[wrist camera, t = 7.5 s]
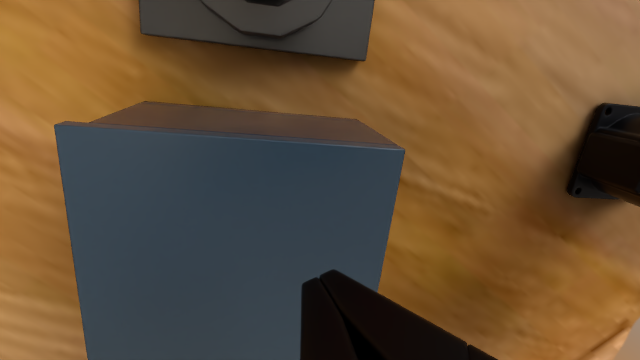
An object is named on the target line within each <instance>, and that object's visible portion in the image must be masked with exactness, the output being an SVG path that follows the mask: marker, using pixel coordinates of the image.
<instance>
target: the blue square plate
mask: <svg viewBox="0 0 640 360" xmlns="http://www.w3.org/2000/svg"><path fill="white" fill-rule="evenodd" d="M54 129H55V135H56V142H57V149H58V156H59V163H60V170H61V177H62V184H63V191H64V198H65V205H66V212H67V219H68V226H69V233H70V240H71V247H72V254H73V261H74V268H75V275H76V282H77V289H78V296H79V302H80V309H81V316H82V323H83V330H84V337H85V344H86V351H87V358H88V360H300V336H301V286H302V284H303V283H304V282H306V281H308V280H310V279H312V278H314V277H318V278H319V276H320V275H321V274H323V273H325V272H328V271H330V270H332V269H336V270H338V271H340V272H341V273H343V274H345V275H347V276H348V277H350V278H352V279H354V280H356V281H357V282H359V283H361V284H363V285H365V286H366V287H368V288H370V289H372V290H374V291H375V292H377V291H378V286H379V281H380V276H381V271H382V266H383V261H384V256H385V251H386V246H387V241H388V235H389V230H390V225H391V220H392V215H393V210H394V205H395V200H396V195H397V190H398V185H399V180H400V174H401V169H402V164H403V159H404V154H405V149H403V148H402V147H400V146H398V145H385V144H371V143H357V142H344V141H330V140H316V139H303V138H289V137H275V136H262V135H248V134H234V133H221V132H207V131H193V130H180V129H166V128H152V127H139V126H125V125H111V124H98V123H84V122H70V121H64V122H61V123H58V124H55V125H54Z"/></svg>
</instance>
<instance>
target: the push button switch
mask: <svg viewBox="0 0 640 360" xmlns="http://www.w3.org/2000/svg"><path fill="white" fill-rule="evenodd" d="M373 7H374V0H139V12H140V30H141V34H144V35H150V36H158V37H166V38H175V39H183V40H191V41H200V42H208V43H216V44H224V45H233V46H241V47H249V48H257V49H266V50H274V51H282V52H290V53H299V54H307V55H315V56H323V57H332V58H340V59H348V60H356V61H365V60H366V55H367V48H368V42H369V35H370V28H371V21H372V14H373Z"/></svg>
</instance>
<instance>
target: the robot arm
mask: <svg viewBox="0 0 640 360" xmlns="http://www.w3.org/2000/svg"><path fill="white" fill-rule="evenodd" d="M605 111H606V112H605ZM567 193H568V194H569V195H571V196H573V197H578V198H600V199H621V200H624V201H626V202H629V203H631V204H634V205H636V206H639V207H640V107H637V106H628V105H619V104H610V103H603V104H601V105H599V107H598V108H597V110H596V112H595V115H594V118H593V120H592V123H591V126H590V129H589V131H588V134H587V137H586V139H585V142H584V145H583V148H582V150H581V153H580V156H579V158H578V161H577V164H576V167H575V169H574V172H573V175H572V177H571V180H570V183H569V185H568V188H567ZM300 360H498V359H496V358H494V357H492V356H490V355H488V354H487V353H485V352H483V351H481V350H480V349H478V348H476V347H474V346H472V345H468V346H467V343H466V342H465V341H463V340H461V339H460V338H458V337H456V336H454V335H452V334H451V333H449V332H447V331H445V330H443V329H442V328H440V327H438V326H436V325H435V324H433V323H431V322H429V321H427V320H426V319H424V318H422V317H420V316H418V315H417V314H415V313H413V312H411V311H409V310H408V309H406V308H404V307H402V306H400V305H399V304H397V303H395V302H393V301H392V300H390V299H388V298H386V297H384V296H383V295H381V294H379V293H377V292H375V291H374V290H372V289H370V288H368V287H366V286H365V285H363V284H361V283H359V282H357V281H356V280H354V279H352V278H350V277H348V276H347V275H345V274H343V273H341V272H340V271H338V270H336V269H332V270H330V271H328V272H325V273H323V274H321V275H320V276H319V278H318V277H314V278H312V279H310V280H308V281H306V282H304V283H303V284H302V286H301V336H300Z"/></svg>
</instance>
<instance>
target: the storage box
mask: <svg viewBox="0 0 640 360" xmlns="http://www.w3.org/2000/svg"><path fill="white" fill-rule="evenodd" d="M89 123H98V124H111V125H125V126H139V127H152V128H166V129H180V130H193V131H207V132H221V133H234V134H248V135H262V136H275V137H289V138H303V139H316V140H330V141H344V142H357V143H371V144H385V145H397V144H395V143H394V142H392V141H390V140H389V139H387V138H386V137H384V136H383V135H381V134H379V133H378V132H376V131H375V130H373V129H372V128H370V127H368V126H367V125H365V124H364V123H362V122H360V121H359V120H357V119H348V118H336V117H325V116H313V115H301V114H290V113H278V112H266V111H255V110H243V109H232V108H220V107H208V106H197V105H185V104H173V103H162V102H150V101H144V102H141V103H138V104H136V105H133V106H130V107H128V108H125V109H123V110H120V111H117V112H115V113H112V114H110V115H107V116H105V117H102V118H99V119H97V120H94V121H92V122H89Z"/></svg>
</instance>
